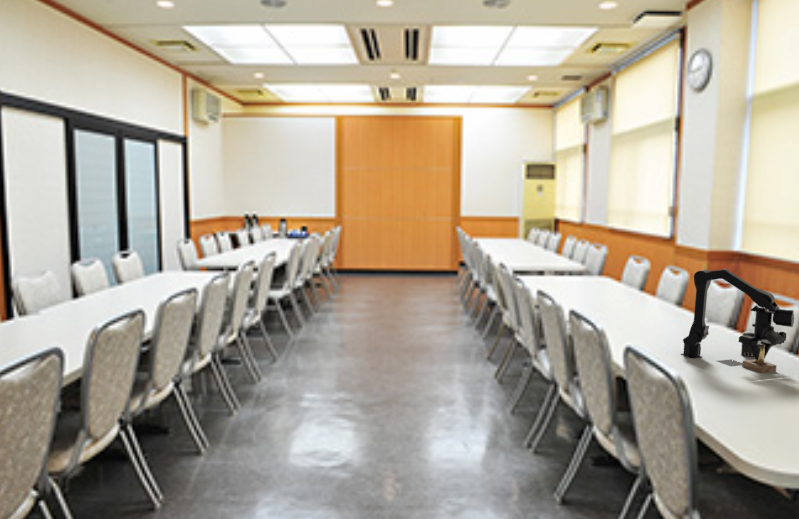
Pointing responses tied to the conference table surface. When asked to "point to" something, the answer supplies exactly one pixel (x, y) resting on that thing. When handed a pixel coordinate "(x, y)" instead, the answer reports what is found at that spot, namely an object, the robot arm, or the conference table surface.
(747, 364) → the pin block
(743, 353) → the battery charger
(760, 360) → the pin
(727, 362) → the mat
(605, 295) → the conference table surface
